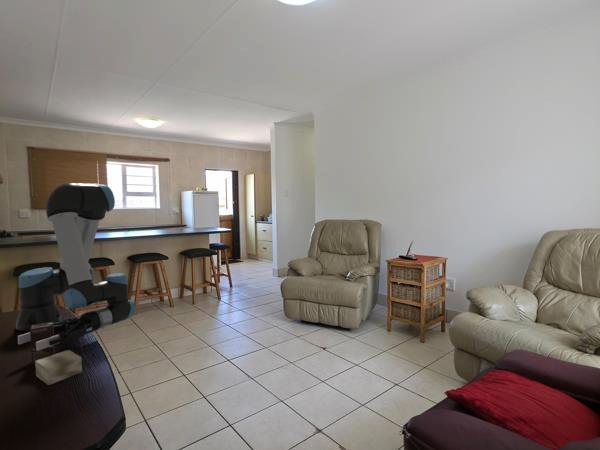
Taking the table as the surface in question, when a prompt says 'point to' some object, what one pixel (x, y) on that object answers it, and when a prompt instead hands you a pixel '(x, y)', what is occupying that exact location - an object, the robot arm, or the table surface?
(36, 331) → the box
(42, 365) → the ash block
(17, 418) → the table surface
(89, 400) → the table surface
